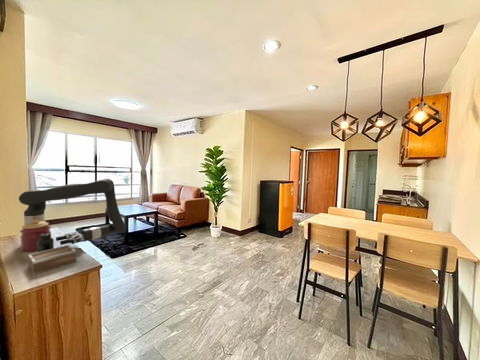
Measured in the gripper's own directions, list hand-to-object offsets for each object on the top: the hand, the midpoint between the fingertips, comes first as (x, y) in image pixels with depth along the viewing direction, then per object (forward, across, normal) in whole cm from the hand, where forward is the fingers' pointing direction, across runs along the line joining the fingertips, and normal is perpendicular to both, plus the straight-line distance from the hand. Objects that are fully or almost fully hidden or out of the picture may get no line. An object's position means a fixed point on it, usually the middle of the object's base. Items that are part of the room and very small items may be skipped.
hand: (58, 241), depth 117 cm
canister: (+6, -16, +7) cm, 18 cm away
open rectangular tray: (+6, +15, +6) cm, 17 cm away
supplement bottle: (+6, 0, +7) cm, 9 cm away
